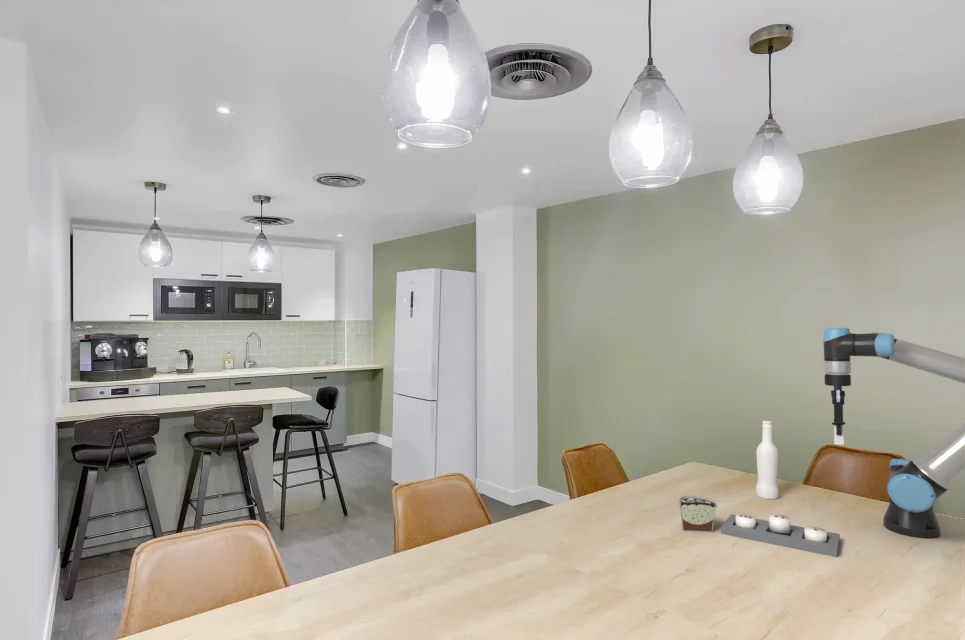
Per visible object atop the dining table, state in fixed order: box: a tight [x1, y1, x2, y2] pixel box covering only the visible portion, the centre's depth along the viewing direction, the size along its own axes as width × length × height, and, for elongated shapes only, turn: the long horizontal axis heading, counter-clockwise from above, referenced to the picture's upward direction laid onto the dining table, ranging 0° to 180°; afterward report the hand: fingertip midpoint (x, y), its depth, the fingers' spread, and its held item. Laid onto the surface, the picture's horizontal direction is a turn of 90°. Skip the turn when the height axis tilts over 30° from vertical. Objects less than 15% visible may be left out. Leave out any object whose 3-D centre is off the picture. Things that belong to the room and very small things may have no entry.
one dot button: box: [804, 526, 828, 543], centre depth 176 cm, size 6×6×4 cm
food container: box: [677, 495, 718, 533], centre depth 189 cm, size 12×6×10 cm, turn 84°
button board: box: [720, 513, 841, 558], centre depth 182 cm, size 32×16×2 cm, turn 55°
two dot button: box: [768, 513, 791, 534], centre depth 182 cm, size 6×6×4 cm
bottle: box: [755, 420, 780, 501], centre depth 225 cm, size 8×8×30 cm
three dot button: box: [735, 513, 757, 529], centre depth 188 cm, size 6×6×4 cm
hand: (839, 444), depth 190 cm, fingers closed
